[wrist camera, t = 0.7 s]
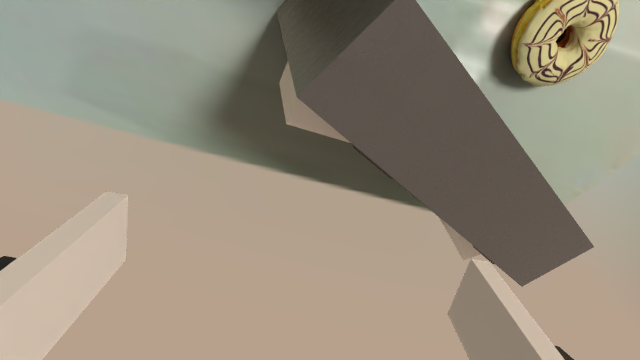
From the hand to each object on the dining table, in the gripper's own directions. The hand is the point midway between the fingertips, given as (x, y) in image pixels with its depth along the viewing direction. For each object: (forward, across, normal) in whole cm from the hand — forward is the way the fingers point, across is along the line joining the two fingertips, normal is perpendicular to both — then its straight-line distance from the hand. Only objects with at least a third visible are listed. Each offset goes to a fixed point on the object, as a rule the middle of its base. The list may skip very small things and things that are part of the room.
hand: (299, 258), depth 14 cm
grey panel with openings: (+31, +11, +4) cm, 33 cm away
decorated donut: (+31, +24, +14) cm, 42 cm away
